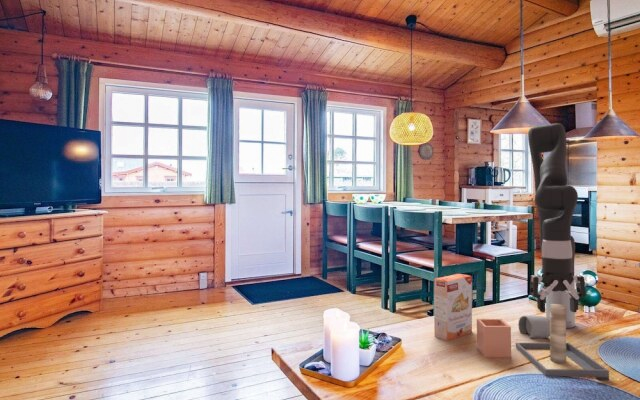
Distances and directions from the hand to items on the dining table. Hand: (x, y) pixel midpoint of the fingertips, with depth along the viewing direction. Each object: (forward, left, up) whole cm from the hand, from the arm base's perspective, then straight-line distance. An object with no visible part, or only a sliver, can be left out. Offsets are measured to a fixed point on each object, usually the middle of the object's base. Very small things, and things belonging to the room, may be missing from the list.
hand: (557, 311), depth 118 cm
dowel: (0, 0, -14) cm, 14 cm away
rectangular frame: (0, 0, -15) cm, 15 cm away
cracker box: (-22, -24, -15) cm, 36 cm away
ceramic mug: (-23, +2, -15) cm, 28 cm away
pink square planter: (-6, -16, -15) cm, 23 cm away
